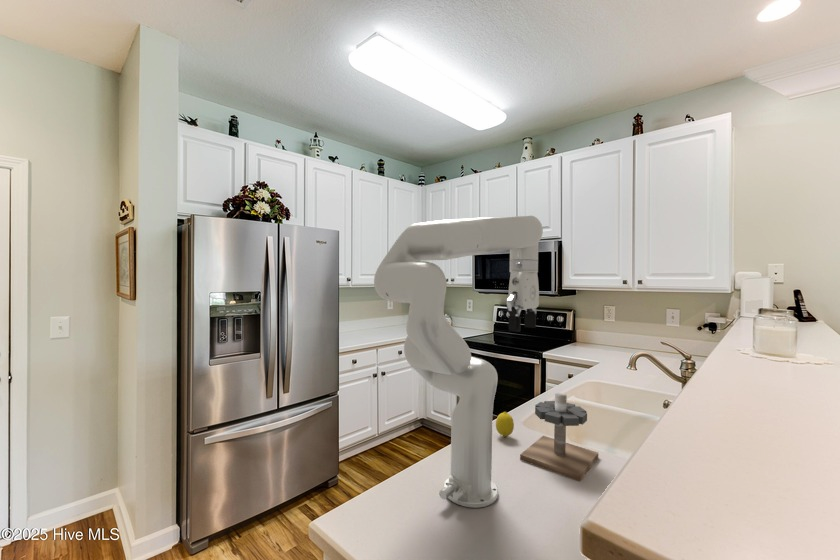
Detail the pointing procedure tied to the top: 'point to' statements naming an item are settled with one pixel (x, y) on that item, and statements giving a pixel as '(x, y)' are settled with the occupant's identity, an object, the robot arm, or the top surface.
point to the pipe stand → (560, 451)
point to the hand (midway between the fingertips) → (522, 329)
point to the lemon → (504, 424)
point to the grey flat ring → (561, 414)
